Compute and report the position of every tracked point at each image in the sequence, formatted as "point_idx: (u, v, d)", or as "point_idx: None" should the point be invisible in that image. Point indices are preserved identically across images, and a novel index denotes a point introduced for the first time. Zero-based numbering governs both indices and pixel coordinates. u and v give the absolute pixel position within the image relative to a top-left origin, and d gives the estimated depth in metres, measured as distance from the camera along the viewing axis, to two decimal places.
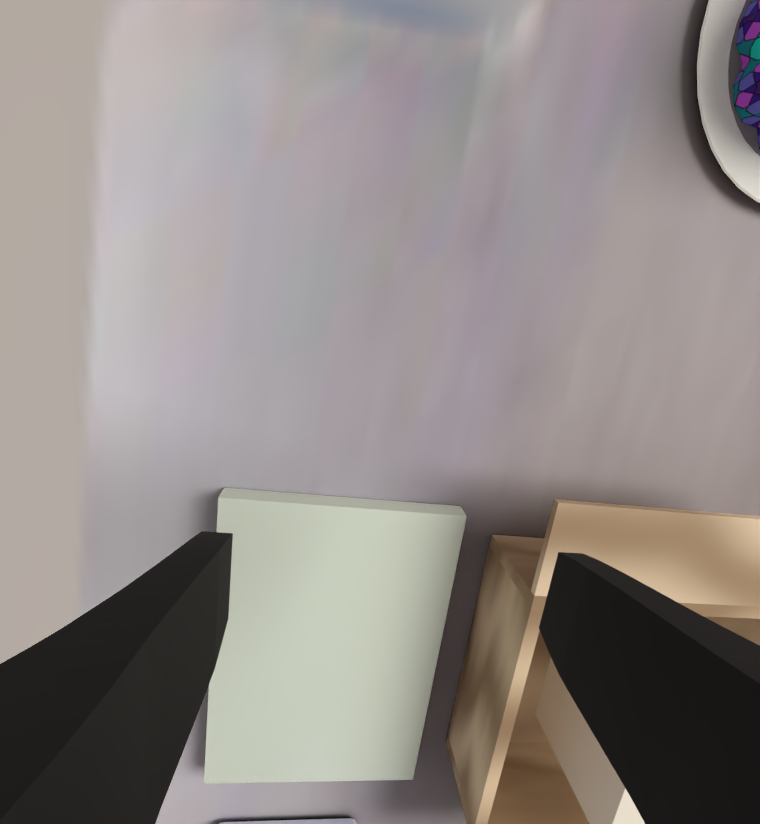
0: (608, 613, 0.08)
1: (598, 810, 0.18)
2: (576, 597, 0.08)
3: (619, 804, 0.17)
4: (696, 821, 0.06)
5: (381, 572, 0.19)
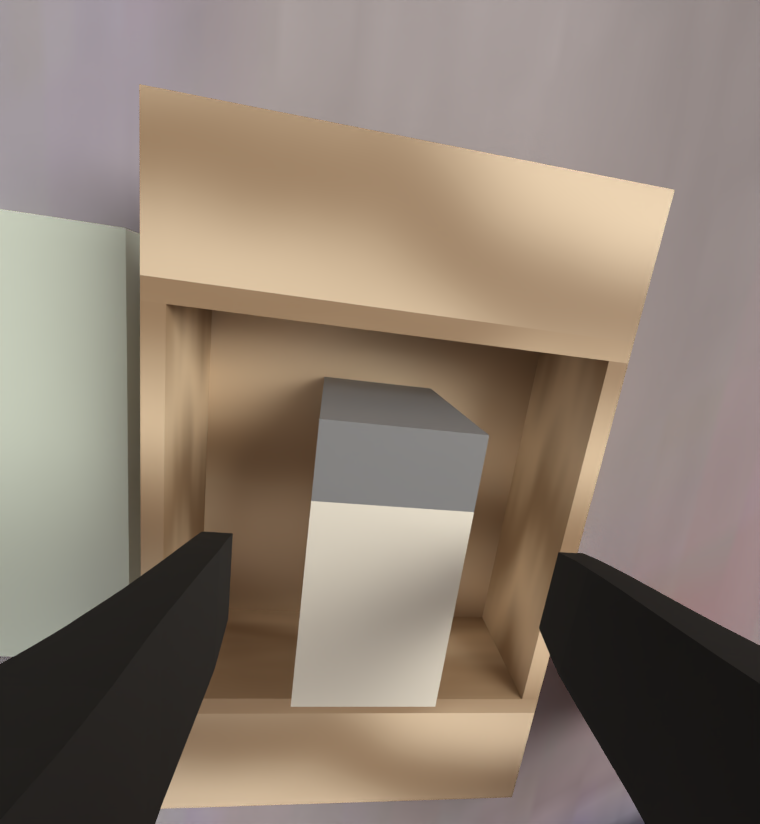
0: (608, 613, 0.08)
1: None
2: (576, 597, 0.08)
3: (300, 625, 0.10)
4: (696, 821, 0.06)
5: (4, 317, 0.13)
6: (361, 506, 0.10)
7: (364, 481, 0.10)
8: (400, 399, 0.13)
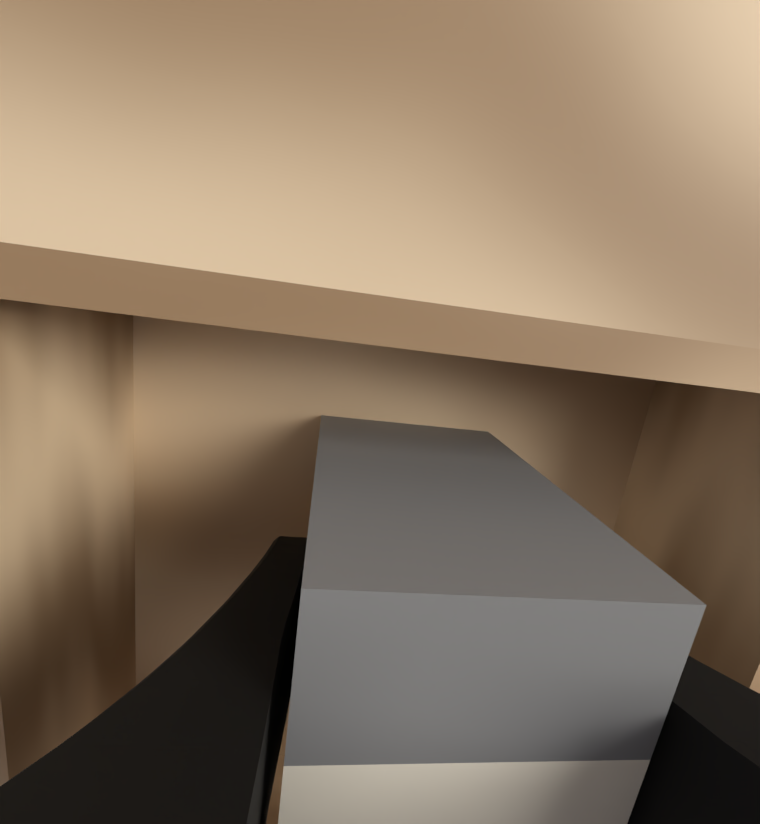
0: None
1: None
2: None
3: None
4: None
5: None
6: (402, 767, 0.04)
7: (411, 717, 0.04)
8: (456, 469, 0.07)
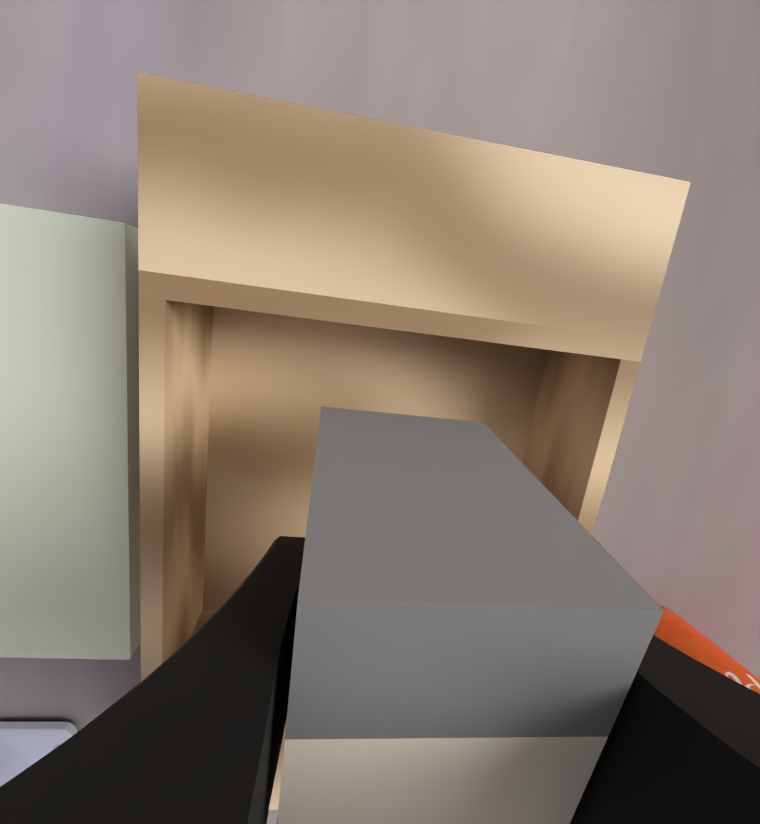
0: None
1: None
2: None
3: None
4: None
5: (2, 314, 0.13)
6: (389, 741, 0.05)
7: (396, 701, 0.05)
8: (448, 467, 0.07)
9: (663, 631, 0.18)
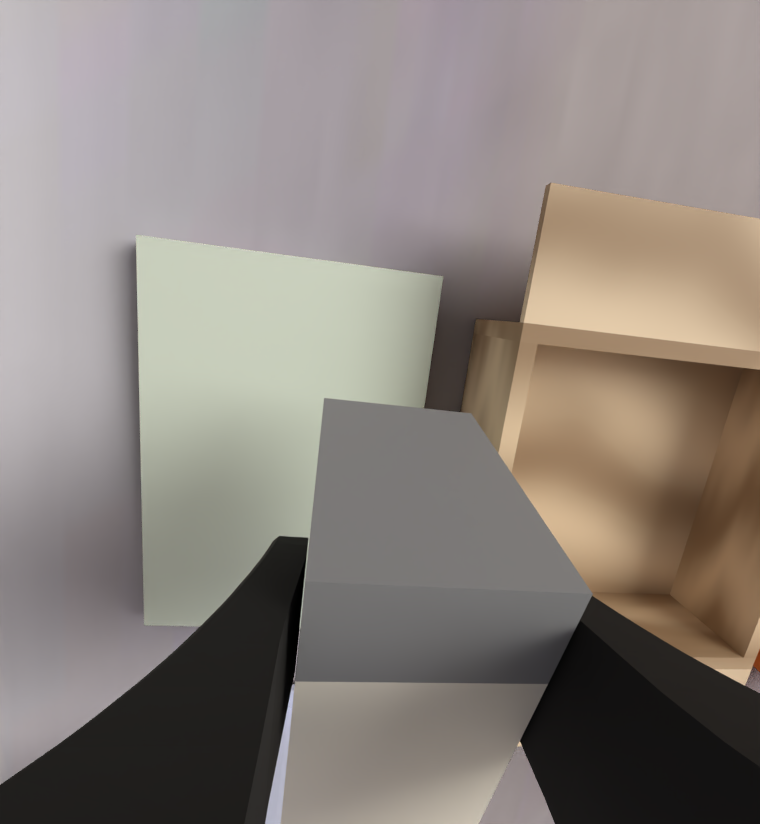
0: None
1: None
2: None
3: (284, 801, 0.07)
4: None
5: (342, 349, 0.16)
6: (375, 684, 0.06)
7: (380, 656, 0.06)
8: (434, 462, 0.08)
9: None
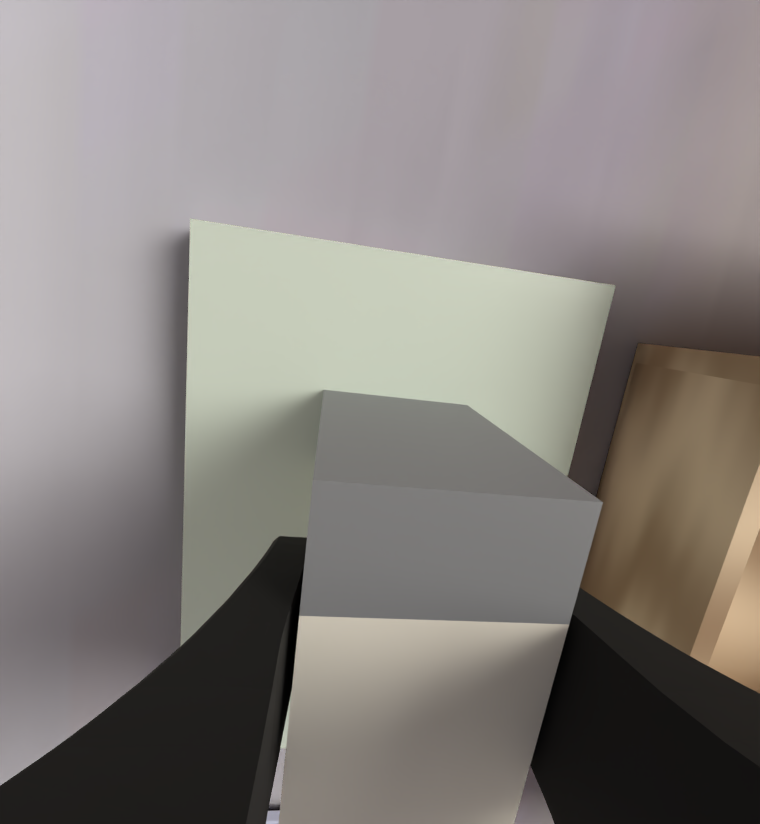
0: None
1: None
2: None
3: (282, 803, 0.06)
4: None
5: (468, 386, 0.11)
6: (384, 621, 0.06)
7: (390, 581, 0.06)
8: (434, 426, 0.09)
9: None
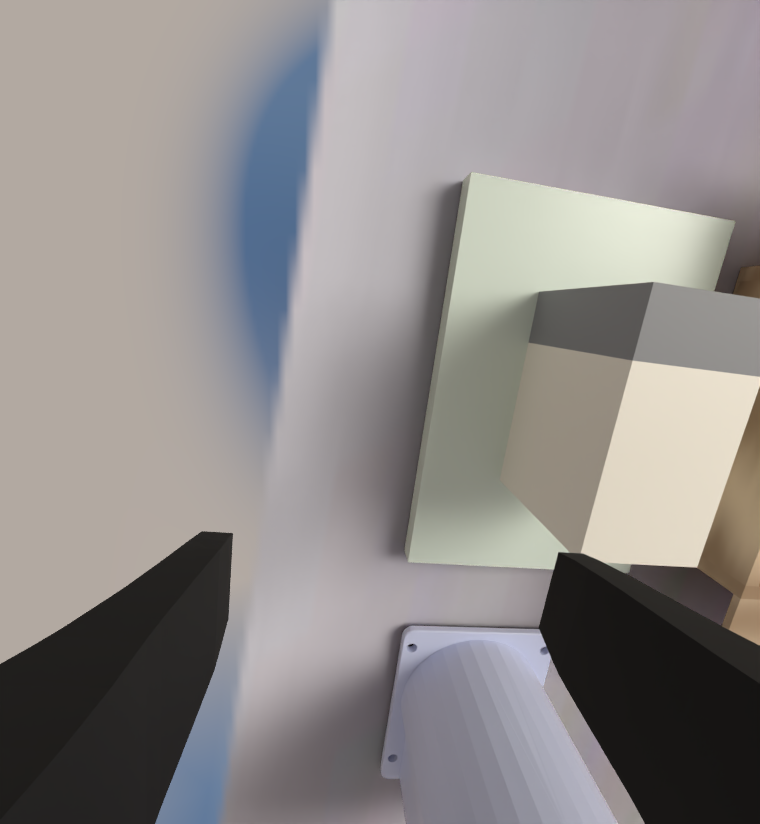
0: (608, 613, 0.08)
1: (573, 516, 0.13)
2: (576, 597, 0.08)
3: (601, 480, 0.12)
4: (696, 821, 0.06)
5: None
6: (672, 367, 0.11)
7: (679, 343, 0.11)
8: None
9: None
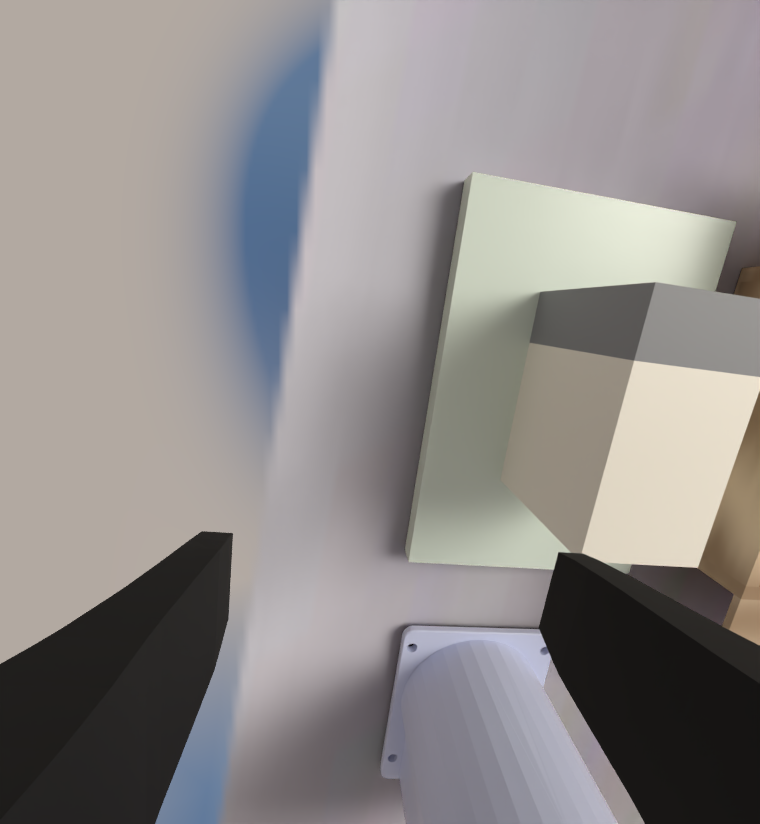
0: (608, 613, 0.08)
1: (574, 516, 0.13)
2: (576, 597, 0.08)
3: (602, 480, 0.12)
4: (696, 821, 0.06)
5: None
6: (673, 367, 0.11)
7: (680, 343, 0.11)
8: None
9: None
